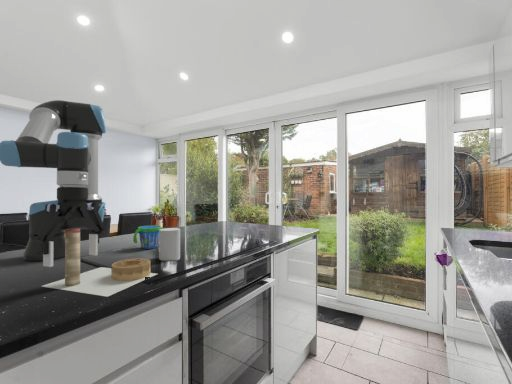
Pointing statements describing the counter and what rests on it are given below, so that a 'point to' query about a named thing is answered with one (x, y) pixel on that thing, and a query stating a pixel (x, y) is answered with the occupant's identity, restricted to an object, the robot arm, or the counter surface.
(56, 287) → the mat
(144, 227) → the snack cup
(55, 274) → the counter surface
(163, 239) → the grey rounded block
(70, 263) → the beige cylinder
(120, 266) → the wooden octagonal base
